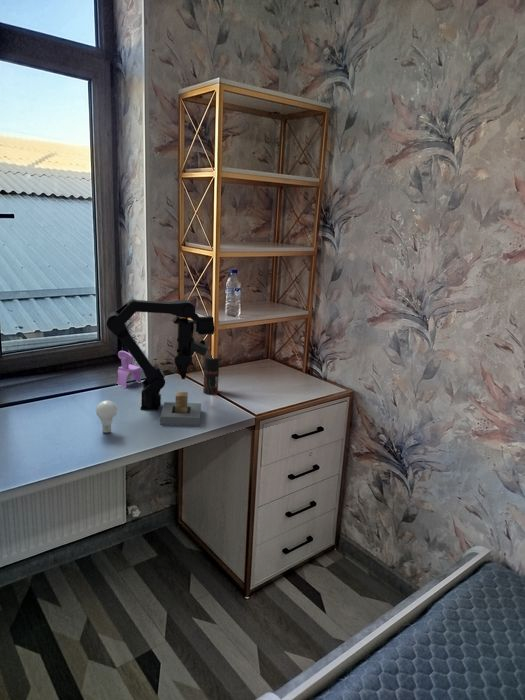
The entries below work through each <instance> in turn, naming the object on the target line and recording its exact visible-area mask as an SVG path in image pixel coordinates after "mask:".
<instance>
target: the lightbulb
mask: <svg viewBox="0 0 525 700" xmlns="http://www.w3.org/2000/svg"><path fill="white" fill-rule="evenodd" d="M117 410H118V409H117V405H116V403H114V402H113V401H111V400H107V399H106V400H102V401H100V402H99V403H98V404H97V406H96V408H95V412H96V416H97V417H98V419H99V420H100V422H101V425H102V426H101V427H102V433H104V434H108V433H111V432H112V423H113V419H114V418H115V416H116V415H117Z"/></svg>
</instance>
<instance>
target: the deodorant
mask: <svg viewBox="0 0 525 700" xmlns="http://www.w3.org/2000/svg"><path fill="white" fill-rule="evenodd" d="M216 356H217V358H214V359H213V358H212V354H211V355H209V354H208V355H205V356H204V365H203V389H202V391H203V394H205V395H210V396H213V395H217V394H218V393H219V392H218V391H219V375H220V374H219V373H220V356H218V355H216Z"/></svg>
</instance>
